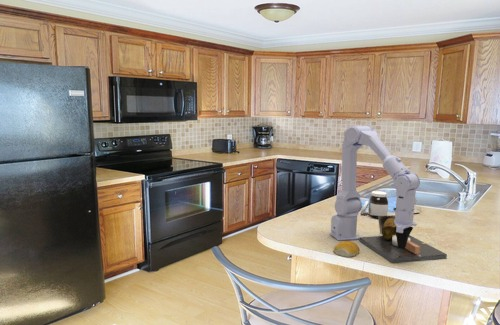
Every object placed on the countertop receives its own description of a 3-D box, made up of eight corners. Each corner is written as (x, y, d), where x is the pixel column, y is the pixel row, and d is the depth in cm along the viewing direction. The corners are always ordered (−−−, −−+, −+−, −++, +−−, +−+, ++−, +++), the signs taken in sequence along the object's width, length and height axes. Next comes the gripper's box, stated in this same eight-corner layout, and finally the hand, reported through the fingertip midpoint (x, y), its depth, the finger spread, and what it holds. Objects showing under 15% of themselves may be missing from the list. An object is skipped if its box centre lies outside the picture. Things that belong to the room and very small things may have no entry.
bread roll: (362, 251, 133) (362, 241, 132) (352, 259, 126) (353, 248, 125) (340, 246, 138) (340, 236, 137) (329, 253, 130) (330, 242, 130)
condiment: (402, 233, 148) (399, 242, 137) (380, 233, 152) (376, 242, 141) (400, 215, 148) (397, 223, 137) (377, 215, 151) (373, 223, 141)
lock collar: (388, 241, 137) (389, 235, 137) (402, 240, 139) (403, 234, 138) (409, 254, 126) (410, 247, 125) (425, 253, 127) (425, 246, 127)
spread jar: (389, 220, 172) (391, 195, 170) (364, 219, 172) (366, 194, 171) (380, 212, 184) (382, 189, 182) (357, 212, 184) (359, 189, 182)
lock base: (392, 263, 123) (393, 246, 122) (359, 241, 143) (360, 226, 142) (446, 258, 128) (448, 242, 127) (407, 237, 148) (408, 224, 147)
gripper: (414, 215, 117) (410, 256, 119) (420, 206, 130) (417, 243, 132) (390, 212, 121) (387, 252, 123) (399, 203, 133) (396, 239, 135)
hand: (401, 247), depth 128 cm, fingers closed
